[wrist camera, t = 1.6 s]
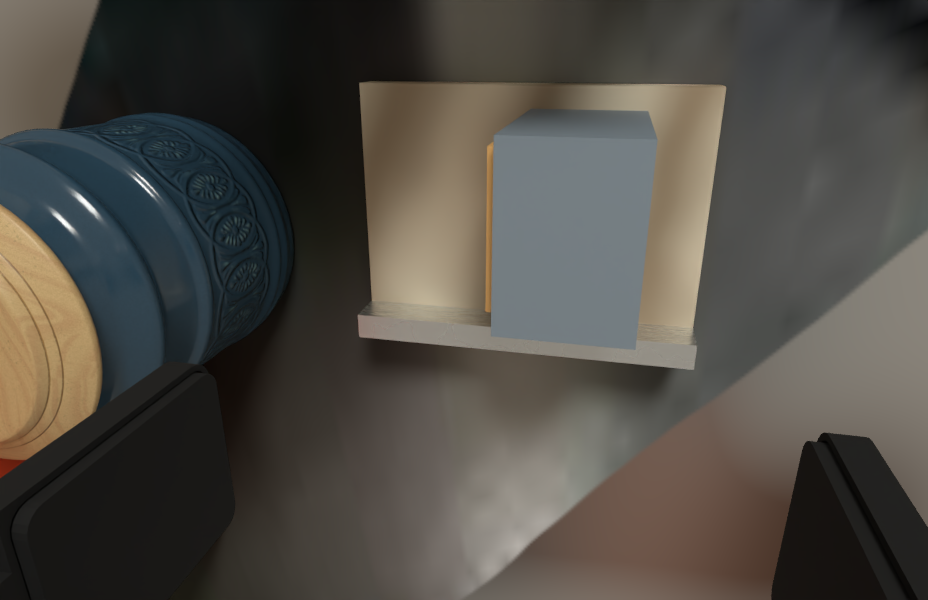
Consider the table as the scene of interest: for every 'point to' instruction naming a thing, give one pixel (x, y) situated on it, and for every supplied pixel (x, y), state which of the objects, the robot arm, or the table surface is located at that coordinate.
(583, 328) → the carton
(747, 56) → the table surface
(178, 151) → the canister
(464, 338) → the shelf board
